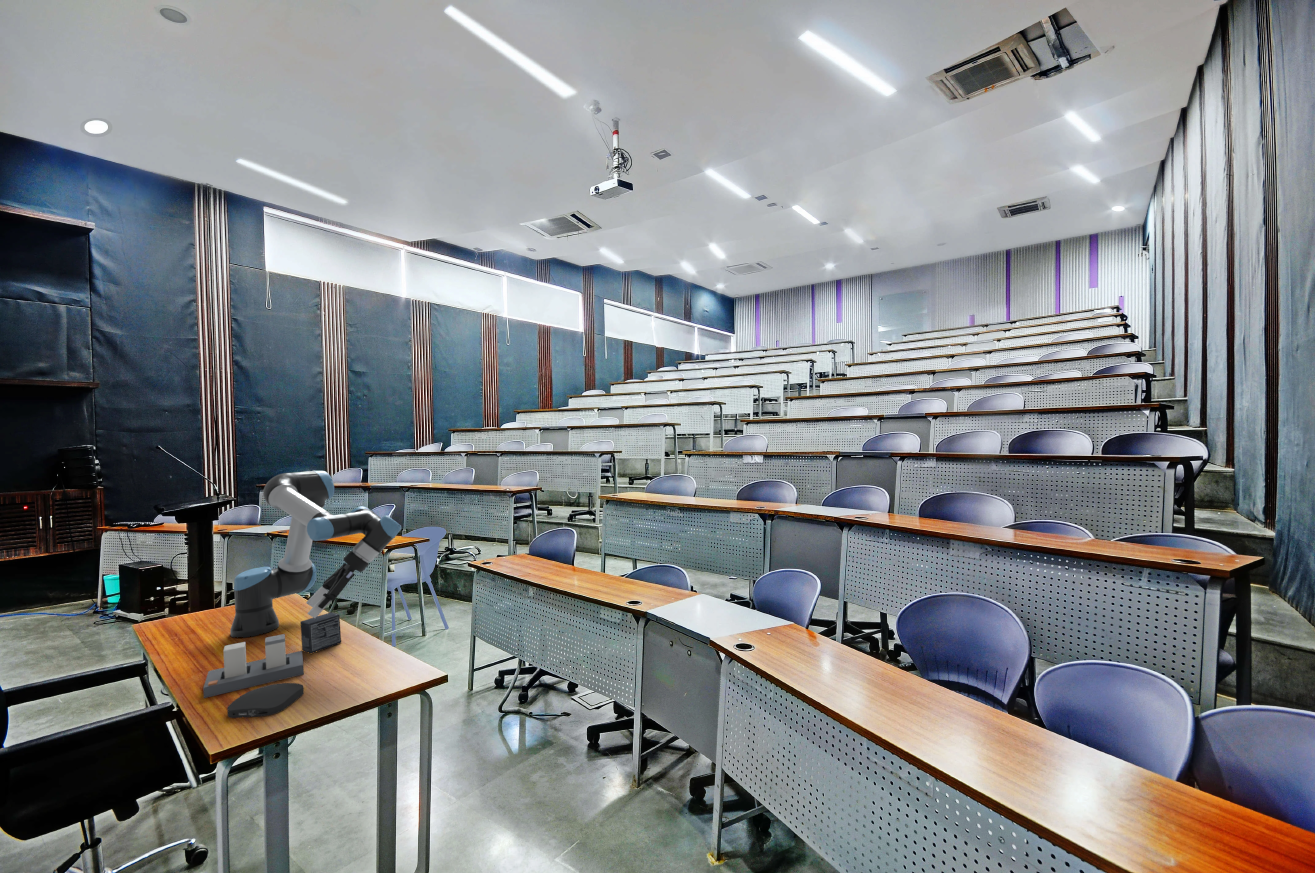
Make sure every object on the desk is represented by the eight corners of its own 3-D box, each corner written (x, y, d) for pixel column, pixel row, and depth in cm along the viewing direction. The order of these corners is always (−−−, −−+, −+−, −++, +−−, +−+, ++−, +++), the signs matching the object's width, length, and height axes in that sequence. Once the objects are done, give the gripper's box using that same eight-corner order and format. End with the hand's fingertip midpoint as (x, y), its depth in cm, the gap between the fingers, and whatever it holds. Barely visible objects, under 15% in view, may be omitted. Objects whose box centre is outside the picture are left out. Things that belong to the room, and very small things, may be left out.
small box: (332, 640, 198) (330, 611, 198) (342, 643, 195) (340, 613, 195) (300, 650, 189) (299, 620, 189) (310, 654, 186) (309, 623, 185)
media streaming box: (309, 690, 159) (309, 680, 159) (277, 716, 144) (276, 705, 144) (258, 693, 158) (257, 683, 158) (220, 720, 144) (219, 708, 144)
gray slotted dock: (209, 680, 167) (207, 644, 167) (302, 659, 181) (300, 626, 181) (203, 698, 156) (202, 659, 156) (303, 674, 169) (302, 638, 169)
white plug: (267, 672, 172) (265, 637, 172) (286, 667, 175) (284, 633, 175) (266, 677, 168) (265, 642, 168) (286, 673, 171) (284, 638, 171)
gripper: (374, 570, 176) (322, 627, 168) (365, 556, 196) (318, 607, 188) (355, 556, 173) (301, 613, 165) (348, 544, 193) (299, 594, 185)
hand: (310, 610), depth 176 cm, fingers open, 13 cm apart
